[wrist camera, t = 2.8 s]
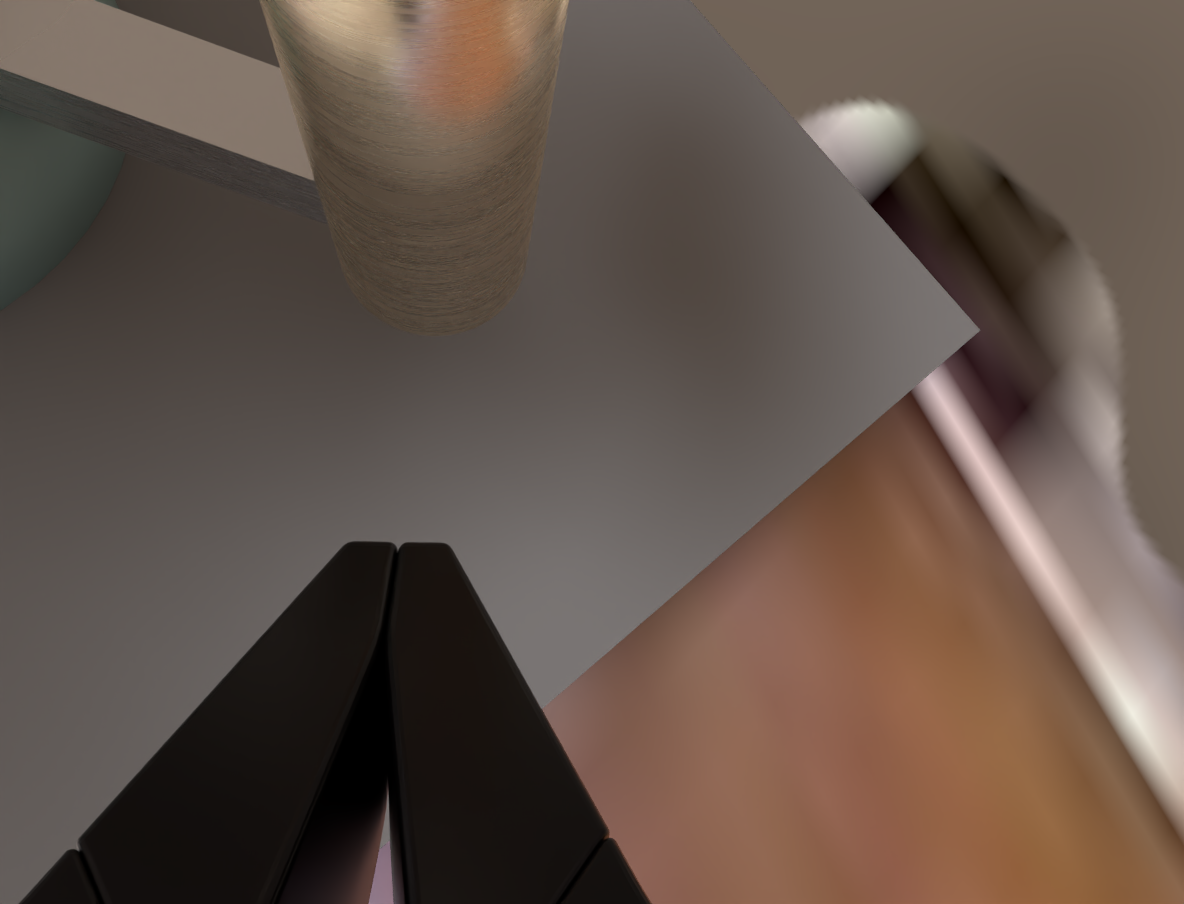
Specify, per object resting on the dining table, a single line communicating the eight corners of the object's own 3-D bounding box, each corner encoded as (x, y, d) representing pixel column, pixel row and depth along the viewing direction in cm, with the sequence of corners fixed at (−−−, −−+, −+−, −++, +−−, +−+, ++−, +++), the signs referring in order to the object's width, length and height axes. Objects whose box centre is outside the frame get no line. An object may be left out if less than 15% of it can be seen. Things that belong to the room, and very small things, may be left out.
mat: (28, 1146, 14) (9, 1168, 13) (-713, 120, 15) (-760, 98, 14) (963, 340, 18) (979, 330, 17) (317, -396, 19) (313, -429, 19)
